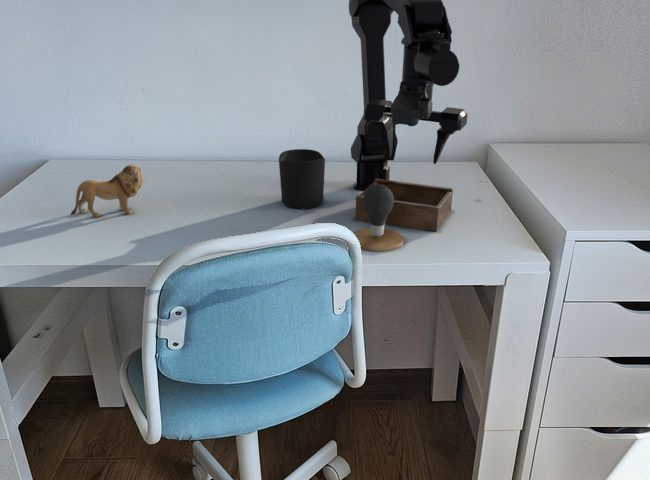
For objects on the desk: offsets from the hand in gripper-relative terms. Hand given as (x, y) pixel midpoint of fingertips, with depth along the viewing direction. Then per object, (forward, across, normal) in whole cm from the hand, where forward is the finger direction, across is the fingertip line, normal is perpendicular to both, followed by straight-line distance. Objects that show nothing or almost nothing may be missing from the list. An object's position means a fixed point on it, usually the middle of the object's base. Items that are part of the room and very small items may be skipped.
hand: (412, 160), depth 135 cm
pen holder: (+12, -23, 0) cm, 26 cm away
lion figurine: (+12, -56, -21) cm, 61 cm away
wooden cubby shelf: (+12, -1, +1) cm, 12 cm away
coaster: (+12, -2, -14) cm, 18 cm away
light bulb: (+11, -2, -14) cm, 18 cm away
